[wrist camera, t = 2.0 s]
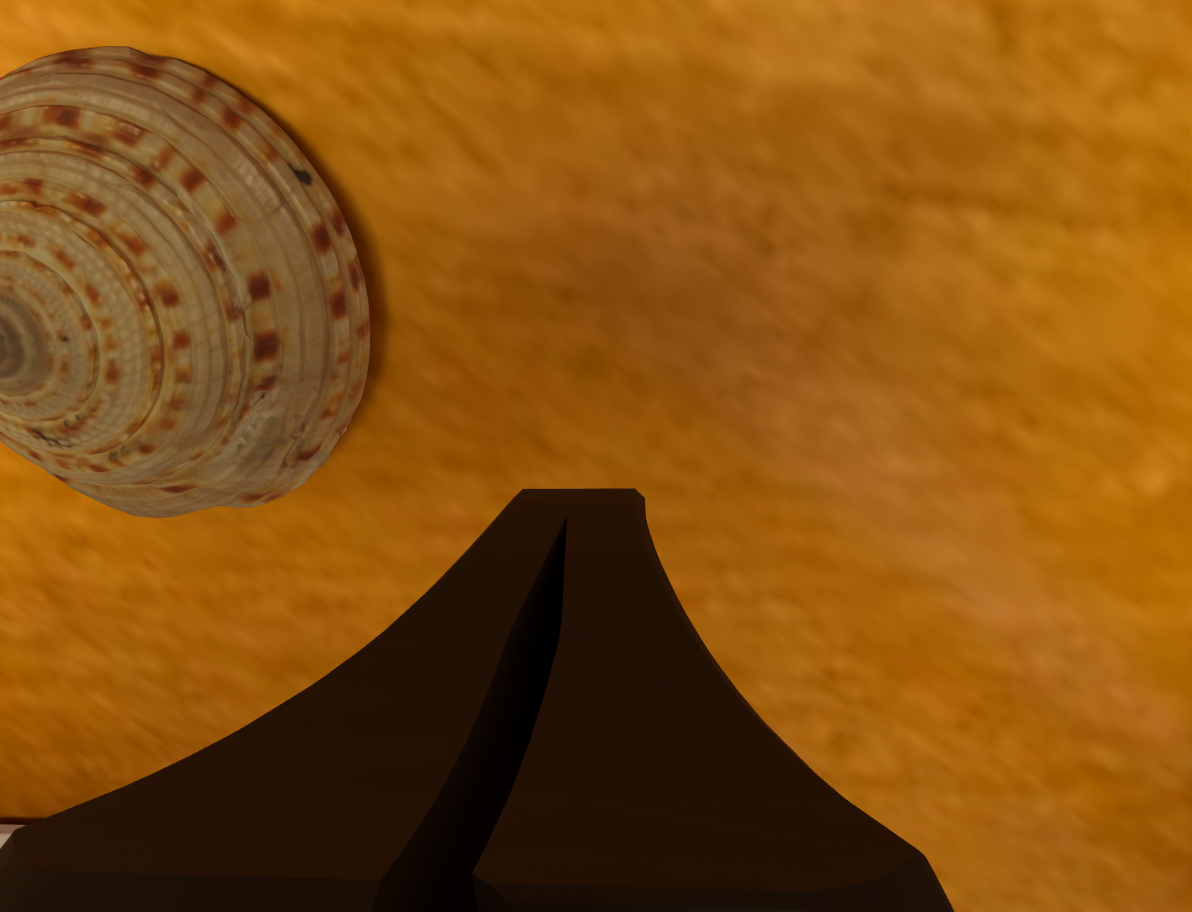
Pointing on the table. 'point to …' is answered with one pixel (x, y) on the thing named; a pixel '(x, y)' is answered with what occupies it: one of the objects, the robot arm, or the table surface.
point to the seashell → (168, 288)
